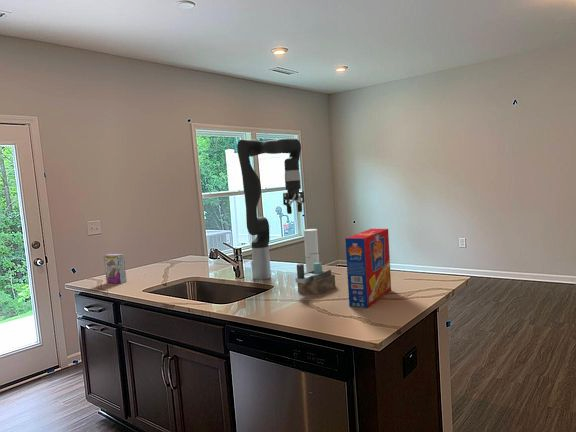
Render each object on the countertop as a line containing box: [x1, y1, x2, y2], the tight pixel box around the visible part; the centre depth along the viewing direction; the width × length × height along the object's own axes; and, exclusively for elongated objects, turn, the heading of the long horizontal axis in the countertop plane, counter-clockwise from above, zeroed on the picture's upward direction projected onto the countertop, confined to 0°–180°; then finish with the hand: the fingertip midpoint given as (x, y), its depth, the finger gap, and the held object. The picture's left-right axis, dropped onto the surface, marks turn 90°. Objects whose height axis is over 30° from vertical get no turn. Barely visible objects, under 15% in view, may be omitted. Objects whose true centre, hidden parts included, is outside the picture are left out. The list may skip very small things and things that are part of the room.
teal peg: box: [313, 262, 323, 274], centre depth 211 cm, size 4×4×12 cm
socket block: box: [296, 269, 336, 295], centre depth 210 cm, size 12×14×8 cm
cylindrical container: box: [303, 228, 320, 273], centre depth 237 cm, size 7×7×25 cm
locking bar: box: [295, 263, 316, 283], centre depth 203 cm, size 5×11×8 cm, turn 143°
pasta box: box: [344, 228, 392, 309], centre depth 188 cm, size 28×8×28 cm, turn 148°
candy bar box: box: [103, 253, 127, 285], centre depth 255 cm, size 11×5×16 cm, turn 65°
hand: (294, 212), depth 218 cm, fingers open, 8 cm apart
